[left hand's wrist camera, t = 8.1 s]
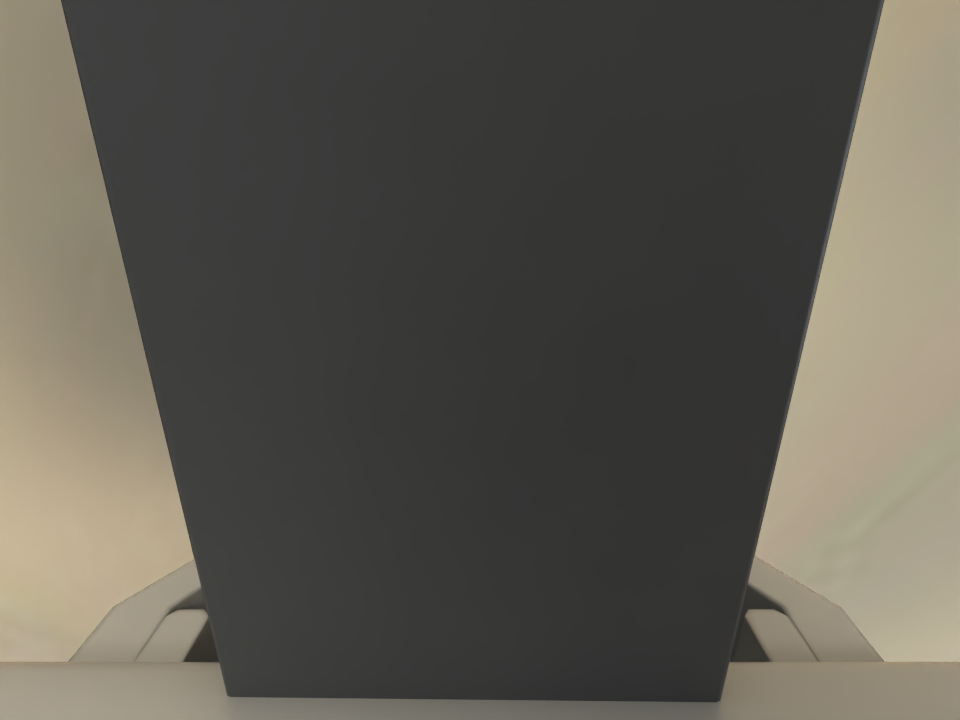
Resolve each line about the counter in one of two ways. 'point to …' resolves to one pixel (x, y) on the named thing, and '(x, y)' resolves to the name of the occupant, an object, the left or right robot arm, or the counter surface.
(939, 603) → the counter surface
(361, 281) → the bar
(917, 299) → the counter surface
